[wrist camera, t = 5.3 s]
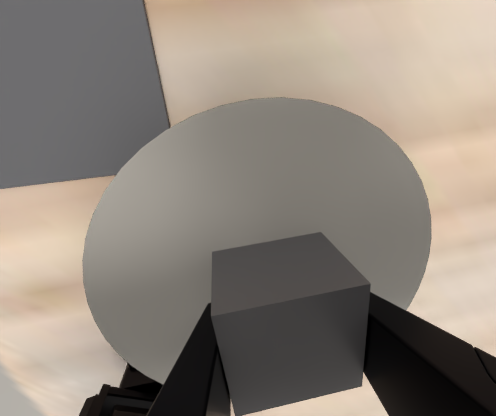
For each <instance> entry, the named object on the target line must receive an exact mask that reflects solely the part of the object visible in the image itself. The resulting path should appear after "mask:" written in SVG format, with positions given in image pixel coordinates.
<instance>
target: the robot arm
mask: <svg viewBox="0 0 496 416" xmlns="http://www.w3.org/2000/svg"><path fill="white" fill-rule="evenodd" d="M363 372H364V374H365V375H366V377H367V379H368V380H369V382H370V384H371V386H372V387H373V389H374V391H375V393H376V394H377V396H378V398H379V399H380V401H381V403H382V405H383V406H384V408H385V410H386V412H387V413H388V415H389V416H496V357H494V356H492V355H490V354H488V353H486V352H484V351H482V350H481V349H479V348H477V347H474V348H473V346H472V345H471V344H469V343H467V342H465V341H463V340H461V339H459V338H457V337H456V336H454V335H452V334H450V333H448V332H446V331H444V330H442V329H440V328H438V327H437V326H435V325H433V324H431V323H429V322H427V321H425V320H423V319H421V318H419V317H417V316H416V315H414V314H412V313H410V312H408V311H406V310H404V309H402V308H400V307H398V306H396V305H395V304H393V303H391V302H389V301H387V300H385V299H383V298H381V297H379V296H377V295H376V294H374V293H372V292H370V299H369V310H368V322H367V333H366V344H365V356H364V367H363ZM230 404H231V396H230V392H229V388H228V384H227V380H226V376H225V372H224V368H223V364H222V360H221V355H220V351H219V347H218V343H217V339H216V335H215V331H214V327H213V323H212V319H211V302H210V303H208V304H207V306H206V308H205V309H204V311H203V313H202V315H201V317H200V319H199V320H198V322H197V324H196V326H195V328H194V330H193V331H192V333H191V335H190V337H189V339H188V341H187V342H186V344H185V346H184V348H183V350H182V352H181V353H180V355H179V357H178V359H177V361H176V362H175V364H174V366H173V368H172V370H171V372H170V373H169V375H168V377H167V379H166V381H165V383H164V384H161V383H159V382H157V381H155V380H153V379H151V378H149V377H148V376H146V375H144V374H143V373H141V372H140V371H138V370H137V369H136V368H134V367H133V366H131V365H130V364H129V363H128V362H127V367H126V369H125V372H124V375H123V378H122V381H121V383H120V386H119V388H117V387H111V386H110V385H108V384H103V386H102V388H101V391H100V393H99V395H98V394H96V395H95V396H93V397H90V398H87V399H86V401H85V404H84V406H83V408H82V410H81V412H80V414H79V416H230Z"/></svg>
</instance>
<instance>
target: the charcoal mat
mask: <svg viewBox="0 0 496 416" xmlns="http://www.w3.org/2000/svg"><path fill="white" fill-rule="evenodd" d="M169 128H170V124H169V119H168V115H167V110H166V105H165V100H164V96H163V91H162V86H161V81H160V76H159V72H158V67H157V62H156V57H155V52H154V48H153V43H152V38H151V33H150V29H149V24H148V19H147V14H146V9H145V5H144V0H0V189H4V188H12V187H20V186H28V185H37V184H45V183H53V182H61V181H70V180H78V179H86V178H94V177H103V176H111V175H117V173H118V172H119V171H120V169H121V168H122V167H123V166H124V165H125V164H126V163H127V162H128V161H129V160H130V159H131V158H132V157H133V156H134V155H135V154H136V153H137V152H138V151H139V150H140V149H141V148H142V147H144V146H145V145H146V144H148V143H149V142H150V141H152V140H153V139H154V138H156V137H157V136H159V135H160V134H161V133H163V132H164V131H165V130H167V129H169Z"/></svg>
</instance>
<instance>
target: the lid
mask: <svg viewBox="0 0 496 416" xmlns="http://www.w3.org/2000/svg"><path fill="white" fill-rule="evenodd" d="M430 244H431V215H430V209H429V203H428V198H427V195H426V193H425V190H424V187H423V184H422V181H421V179H420V177H419V175H418V173H417V171H416V170H415V168H414V166H413V164H412V162H411V161H410V160H409V158H408V157H407V156H406V155H405V153H404V152H403V151H402V149H401V148H400V147H399V146H398V145H397V144H396V143H395V142H394V141H393V140H392V139H391V138H390V137H388V136H387V135H386V134H385V133H384V132H383V131H382V130H381V129H379V128H377V127H376V126H374V125H373V124H371V123H370V122H368V121H366V120H365V119H363V118H362V117H360V116H358V115H355V114H353V113H351V112H348V111H346V110H344V109H341V108H339V107H336V106H332V105H328V104H324V103H320V102H316V101H312V100H305V99H294V98H283V97H280V98H262V99H250V100H245V101H240V102H235V103H230V104H225V105H221V106H218V107H216V108H213V109H210V110H207V111H204V112H202V113H199V114H196V115H193V116H191V117H189V118H188V119H186V120H184V121H182V122H180V123H178V124H176V125H174V126H173V127H171V128H169V129H167V130H165V131H164V132H163V133H161V134H160V135H159V136H157V137H156V138H154V139H153V140H152V141H150V142H149V143H148V144H146V145H145V146H144V147H142V148H141V149H140V150H139V151H138V152H137V153H136V154H135V155H134V156H133V157H132V158H131V159H130V160H129V161H128V162H127V163H126V164H125V165H124V166H123V167H122V168H121V169H120V171H119V172H118V173H117V175H116V176H115V178H114V179H113V180H112V182H111V183H110V184H109V186H108V187H107V188H106V190H105V191H104V193H103V195H102V197H101V199H100V201H99V203H98V205H97V207H96V209H95V211H94V213H93V216H92V219H91V222H90V225H89V228H88V232H87V235H86V238H85V246H84V253H83V260H82V261H83V283H84V288H85V293H86V297H87V302H88V305H89V307H90V310H91V313H92V315H93V318H94V320H95V322H96V324H97V326H98V327H99V329H100V331H101V332H102V334H103V336H104V337H105V339H106V340H107V341H108V342H109V344H110V345H111V346H112V347H113V348H114V350H115V351H116V352H117V353H118V354H119V355H120V356H121V357H122V358H123V359H125V360H126V361H127V362H128V363H129V364H130V365H131V366H133V367H134V368H136V369H137V370H138V371H140V372H141V373H143V374H144V375H146V376H148V377H149V378H151V379H153V380H155V381H157V382H159V383H161V384H164V383H165V381H166V379H167V377H168V375H169V373H170V372H171V370H172V368H173V366H174V364H175V362H176V361H177V359H178V357H179V355H180V353H181V352H182V350H183V348H184V346H185V344H186V342H187V341H188V339H189V337H190V335H191V333H192V331H193V330H194V328H195V326H196V324H197V322H198V320H199V319H200V317H201V315H202V313H203V311H204V309H205V308H206V306H207V304H208V303H210V302H211V319H212V323H213V327H214V331H215V335H216V339H217V343H218V347H219V351H220V355H221V360H222V364H223V368H224V372H225V376H226V380H227V384H228V388H229V392H230V396H231V400H232V404H233V409H234V413H235V416H242V415H246V414H250V413H254V412H258V411H262V410H266V409H270V408H275V407H279V406H283V405H287V404H291V403H295V402H299V401H303V400H307V399H311V398H316V397H320V396H324V395H328V394H332V393H336V392H340V391H344V390H348V389H353V388H357V387H361V386H362V379H363V367H364V356H365V344H366V333H367V322H368V310H369V299H370V292H372V293H374V294H376V295H377V296H379V297H381V298H383V299H385V300H387V301H389V302H391V303H393V304H395V305H396V306H398V307H400V308H402V309H404V310H407V308H408V307H409V305H410V303H411V302H412V300H413V298H414V296H415V294H416V292H417V290H418V288H419V286H420V283H421V280H422V278H423V275H424V273H425V269H426V265H427V262H428V258H429V252H430Z"/></svg>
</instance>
